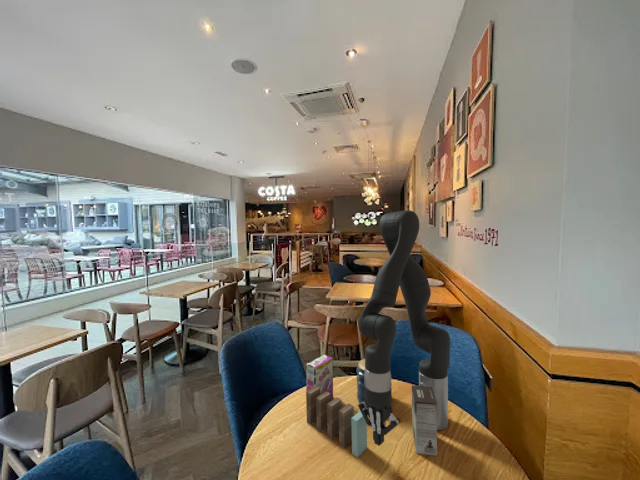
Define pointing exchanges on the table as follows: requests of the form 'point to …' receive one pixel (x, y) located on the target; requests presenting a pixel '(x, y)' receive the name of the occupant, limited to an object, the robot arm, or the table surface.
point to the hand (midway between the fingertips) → (378, 443)
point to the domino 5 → (359, 434)
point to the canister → (361, 381)
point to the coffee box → (424, 420)
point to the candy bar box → (320, 374)
